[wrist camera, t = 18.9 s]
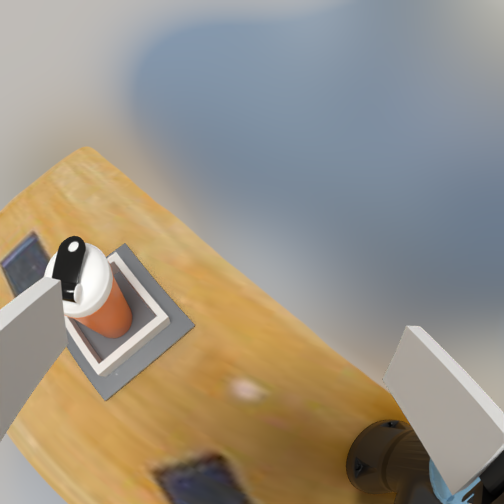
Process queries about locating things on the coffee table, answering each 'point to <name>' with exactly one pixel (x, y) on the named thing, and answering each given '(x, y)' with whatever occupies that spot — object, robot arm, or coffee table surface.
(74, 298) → the shaker bottle
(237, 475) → the coffee table surface
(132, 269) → the holder
